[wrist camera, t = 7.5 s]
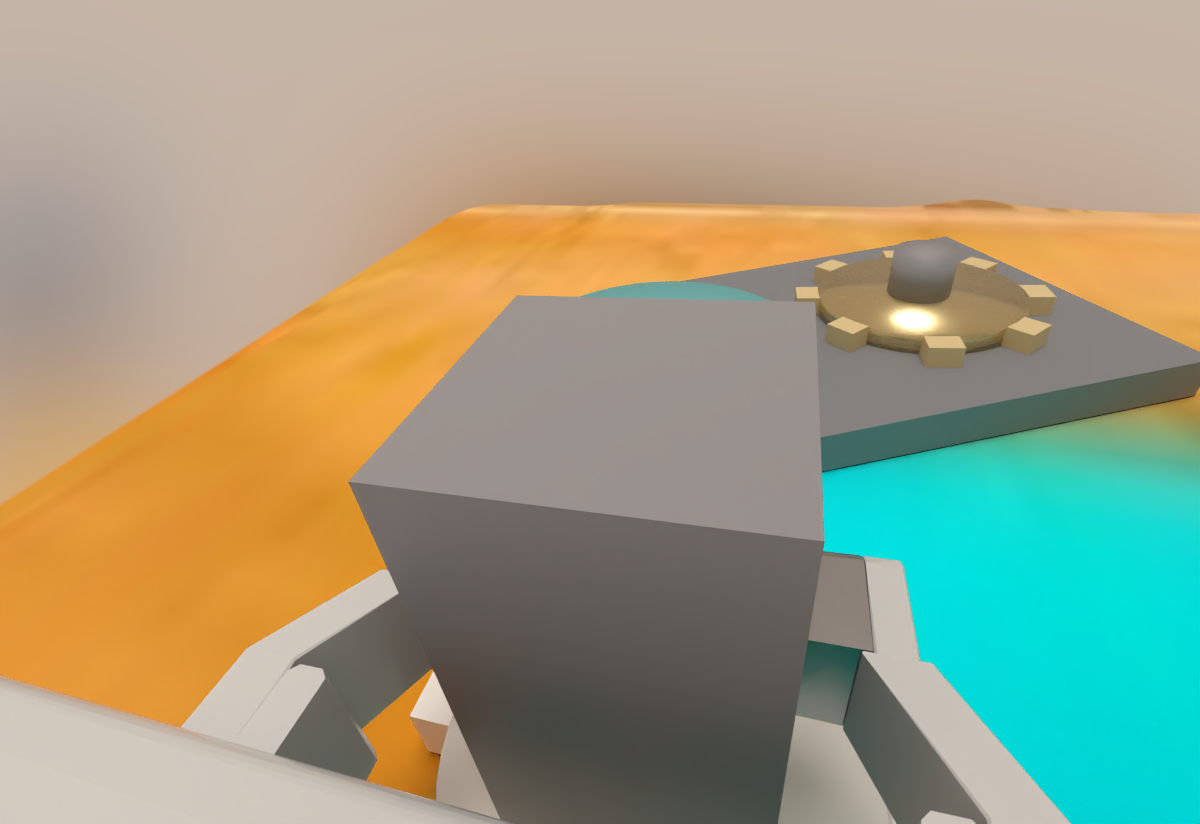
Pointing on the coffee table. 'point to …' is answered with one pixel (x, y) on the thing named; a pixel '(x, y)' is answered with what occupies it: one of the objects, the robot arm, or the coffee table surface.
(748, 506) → the loose gear
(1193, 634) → the coffee table surface
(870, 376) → the gear board
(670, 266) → the coffee table surface
